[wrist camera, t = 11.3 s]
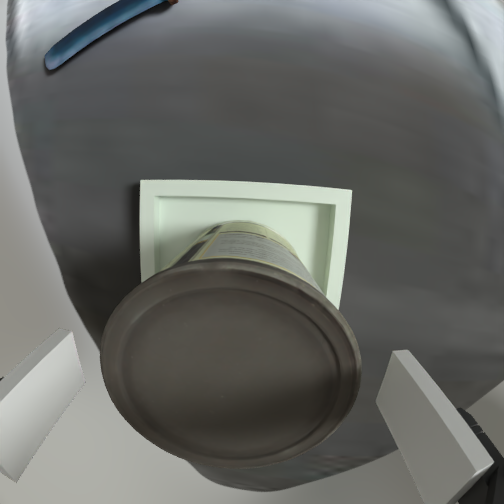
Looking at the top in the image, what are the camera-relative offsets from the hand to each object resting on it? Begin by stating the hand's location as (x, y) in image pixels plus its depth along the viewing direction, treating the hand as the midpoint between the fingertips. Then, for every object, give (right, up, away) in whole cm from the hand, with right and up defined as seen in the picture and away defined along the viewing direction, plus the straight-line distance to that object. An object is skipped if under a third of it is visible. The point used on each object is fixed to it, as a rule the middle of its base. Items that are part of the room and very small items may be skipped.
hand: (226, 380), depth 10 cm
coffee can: (0, +2, +13) cm, 14 cm away
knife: (-9, +29, +9) cm, 31 cm away
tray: (0, +3, +14) cm, 14 cm away
